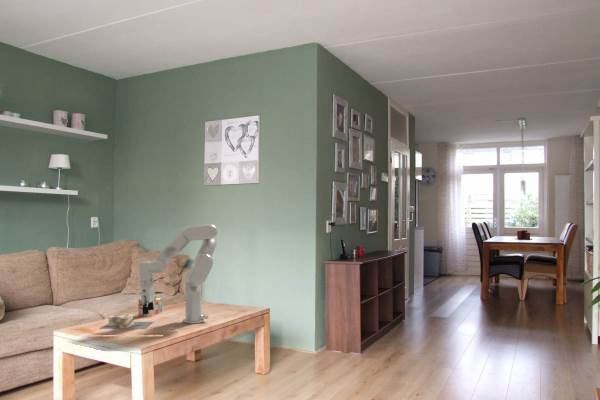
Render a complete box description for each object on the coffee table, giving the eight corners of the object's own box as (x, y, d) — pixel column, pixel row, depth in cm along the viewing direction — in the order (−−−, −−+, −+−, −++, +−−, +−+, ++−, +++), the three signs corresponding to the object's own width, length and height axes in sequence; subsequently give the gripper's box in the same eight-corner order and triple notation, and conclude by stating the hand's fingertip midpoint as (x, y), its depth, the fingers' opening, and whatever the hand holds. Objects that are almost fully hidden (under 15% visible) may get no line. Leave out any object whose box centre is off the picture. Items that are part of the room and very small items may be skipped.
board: (154, 323, 297) (154, 321, 297) (145, 330, 279) (145, 328, 279) (111, 323, 297) (111, 321, 297) (98, 330, 279) (98, 328, 279)
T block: (133, 322, 294) (133, 314, 294) (125, 327, 282) (126, 318, 282) (113, 322, 294) (113, 314, 294) (105, 327, 282) (105, 318, 282)
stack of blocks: (153, 311, 332) (153, 293, 332) (162, 311, 331) (162, 293, 331) (138, 318, 311) (138, 298, 311) (147, 318, 310) (147, 299, 310)
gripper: (148, 284, 282) (150, 315, 282) (157, 279, 299) (158, 308, 299) (135, 285, 282) (137, 315, 282) (144, 280, 299) (146, 308, 299)
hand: (148, 311), depth 290 cm, fingers open, 9 cm apart
